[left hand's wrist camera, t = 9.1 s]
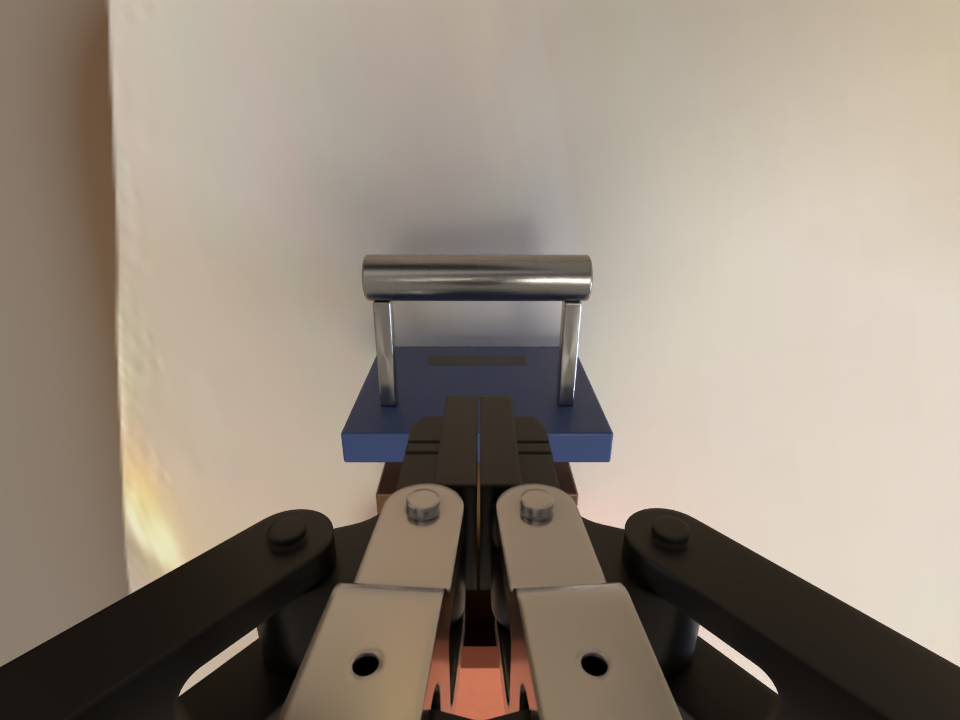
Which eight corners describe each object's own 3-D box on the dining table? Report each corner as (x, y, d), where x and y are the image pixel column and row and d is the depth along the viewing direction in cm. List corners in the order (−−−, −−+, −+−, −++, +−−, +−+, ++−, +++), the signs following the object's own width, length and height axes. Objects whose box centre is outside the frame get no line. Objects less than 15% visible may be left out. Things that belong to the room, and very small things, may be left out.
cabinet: (384, 504, 31) (344, 669, 21) (569, 504, 31) (609, 668, 21) (402, 726, 38) (378, 921, 29) (550, 726, 38) (575, 920, 29)
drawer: (371, 227, 24) (321, 270, 16) (583, 227, 24) (632, 271, 16) (400, 620, 33) (377, 765, 25) (553, 619, 33) (576, 764, 25)
